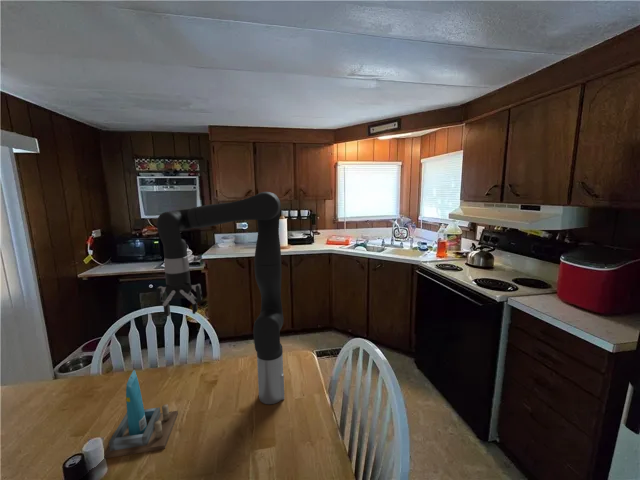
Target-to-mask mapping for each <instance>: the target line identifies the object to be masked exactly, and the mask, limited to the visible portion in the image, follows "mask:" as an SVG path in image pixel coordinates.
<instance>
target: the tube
mask: <svg viewBox="0 0 640 480" xmlns="http://www.w3.org/2000/svg"><path fill="white" fill-rule="evenodd" d="M125 385H126V387H125V400H126V404H125V405H126V413H127V418H128V429H129V435H130V436H132V435H139V434H143V433H144V431H145V429H146V427H147V423H146V418H145V412H144V409H145V408H144V407H145V406H144V402H143V397H142V392H141V391H142V390H141V388H140V383H139V379H138V376H137V373H136V370H135V369H133V370H132V372H131V373H130V376H129V378H128V380H127V382H126V384H125Z"/></svg>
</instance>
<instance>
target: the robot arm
mask: <svg viewBox="0 0 640 480" xmlns="http://www.w3.org/2000/svg"><path fill="white" fill-rule="evenodd" d="M281 206H282V204H281V200H280V199H279V197H278V196H277V194H276V193H273V192H270V191H262V192H258V193H257V194H255V195H252V196H250V197H249V196H248V197H246V198H244V199H239V200H236V201H232V202H225V203H223V202H222V203H213V204H212V203H211V204H205V205H199V206H194V207H192V208H186V209H176V210H172V211H170V210H169V211H165V212H162V213H160V215H159V216H158V217H157V220H156V229H157V232H158V235H159V238H160V241H161V243H162V246H163V256H164V259H163V260H164V262H163V265H164V267H163V268H164V274H165V275H164V276H165V285H166V286H162V285H160V286H158V287H157V288H156V290H155V291H156V295H155V296H156V305H158V306H163V313H164V315H165V316H166V317H170V315H171V308H170V307H171V306H170V304H169V303H170V301H171V300H172V299H174V300H178V299H187V300H188V301H189V302H190V303H191V310H192V314H193V315H195V314H196V313H197V312H198V309H199V308H198V303H201V302H202V300H203V293H202V285H201V283H197V284H192V283H191V274H190V273H191V272H190V263H189V258H188V257H189V256H188V251H187V250H188V248H187V242H186V240H184V239H183V238H182V236H181V232H180V231H184V230H189V229H194V228H195V229H201V228H207V227H213V226H219V225H222V224H227V223H232V222H233V223H234V222H239V221H251V220H252V221H256V222H257V223H256V224H257V238H256V243H255V244H256V245H255V251H254V276H255V281H256V285H257V287H258V289H259V293H260V297H261V298H260V300H261V301H260V314H259V315H258V316H257V318H256V319H255V321H254V324H253V344H254V350H255V353H256V363H257V384H258V399H259V401H260V402H261V403H262V404H265V405H274V404H277V403H279V402H280V401H283V400H285V376H284V360H283V359H284V358H283V357H284V354H283V345H282V343H281V339H280V337H281V333H280V332H281V330H282V327H283V325H284V313H283V306H282V297H281V296H282V272H283V271H282V252H281V251H282V249H281V240H280V217H281V208H282V207H281ZM192 290H193V291H194V292H195V293H196V296H195V295H194V294H193V293H192V292H191V291H192ZM165 292H166V293H167V294H168V296H167V297H166V299H165V300H164V293H165Z"/></svg>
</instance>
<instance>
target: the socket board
mask: <svg viewBox="0 0 640 480" xmlns="http://www.w3.org/2000/svg"><path fill="white" fill-rule="evenodd" d="M161 411H162V412H161ZM144 412H145V418H146V423H147V427H146V429H145V431H144V433H143V434H139V435H132V436H130V435H129V429H128V418H127V412H126V413H125V415H123V418H122V419H121V421H120V422H119V424H118V425H117V426H118V427H117V428H116V430H115V432H114V433H113V435H112V436H111V438H110V440H109V441H108V445H109V446H108V448H106V449H107V450H106V451H105V453H104V454H105V456H106V458H105V459H109V458H115V457H116V458H117V457H123V456H128V455H134V454H140V453H141V454H142V453H147V452H153V451H159V450H160V451H161V450H164V449H166V447H167V444H168V441H169V439H170V436H171V433H172V430H173V428H174V425H175V422H176V420H177V418H178V415H179V414H178V410H173V411H170V410H169V404H168V403H167V404H166V403H165V404H163V405H162V406H161V407H154V408H153V407H152V408H144ZM105 456H104V457H105Z"/></svg>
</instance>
